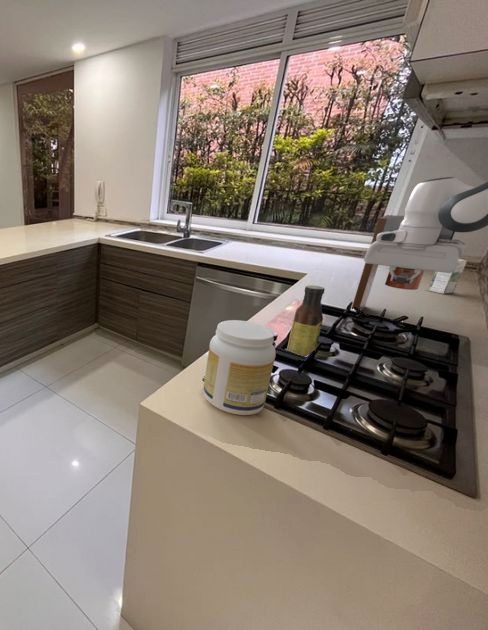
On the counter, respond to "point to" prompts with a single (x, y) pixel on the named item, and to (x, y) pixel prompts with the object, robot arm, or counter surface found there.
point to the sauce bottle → (307, 322)
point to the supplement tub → (239, 367)
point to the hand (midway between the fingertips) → (400, 282)
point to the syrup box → (447, 279)
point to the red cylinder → (404, 279)
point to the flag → (370, 270)
